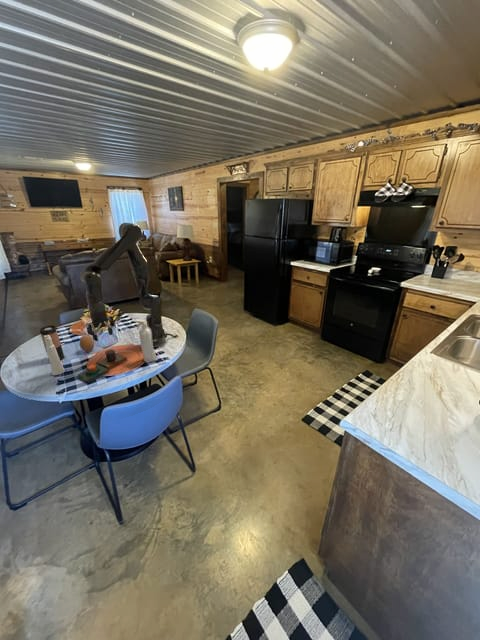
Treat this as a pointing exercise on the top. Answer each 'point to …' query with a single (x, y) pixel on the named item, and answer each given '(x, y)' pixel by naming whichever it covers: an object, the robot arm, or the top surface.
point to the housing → (92, 373)
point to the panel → (112, 362)
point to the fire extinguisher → (146, 341)
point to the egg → (86, 343)
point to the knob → (110, 355)
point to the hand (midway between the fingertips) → (103, 337)
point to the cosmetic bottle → (53, 357)
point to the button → (91, 367)
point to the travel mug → (54, 337)
